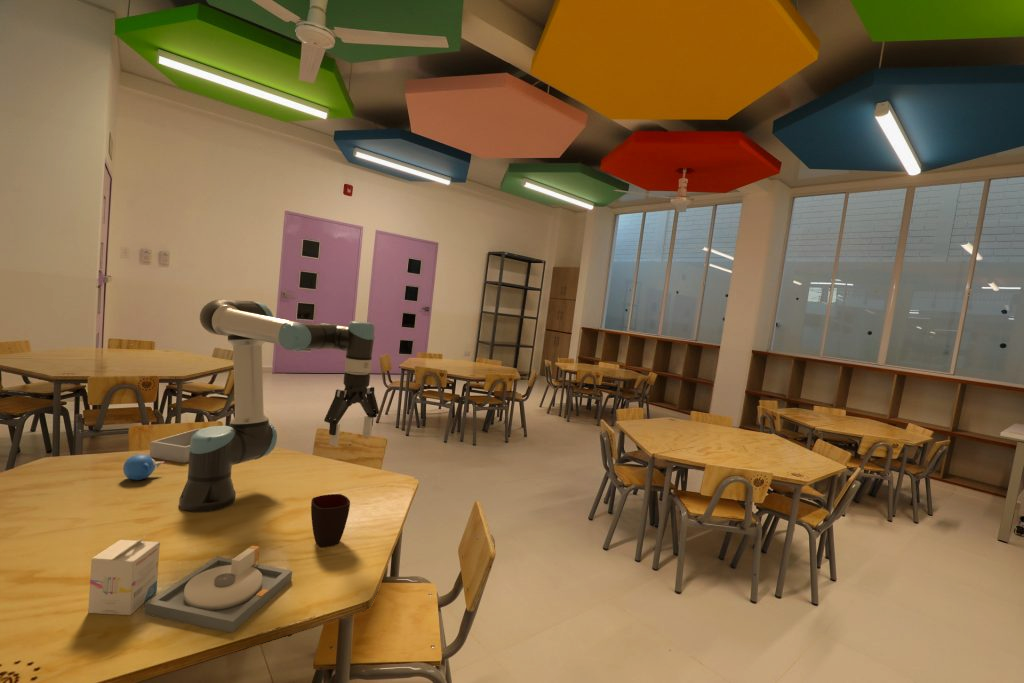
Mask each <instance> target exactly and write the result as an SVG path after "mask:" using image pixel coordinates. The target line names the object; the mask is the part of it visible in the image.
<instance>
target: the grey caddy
mask: <svg viewBox="0 0 1024 683" xmlns="http://www.w3.org/2000/svg"><path fill="white" fill-rule="evenodd" d="M201 429H202V428H196V429H191V430H188V431H185V432H181V433H177V434H173V435H169V436H166V437H163V438H159V439H155V440H152V441H150V448H149V456H150V457H151V458H152V459H153V458H154V459H159V460H165V461H171V462H177V463H189V454H190V450H189V446H190V442H191V437H192V436H193V434H194V433H195V432H197V431H198V430H201Z"/></svg>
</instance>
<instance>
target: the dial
mask: <svg viewBox="0 0 1024 683" xmlns="http://www.w3.org/2000/svg"><path fill="white" fill-rule="evenodd" d="M259 553H260V546H257V545H251V546H249V547H248V548H246V549H245V550H244V551H242V552H241V553H239V554H238V555H236V556H235V557H234V558H231V559H232V564H231V565H226V566H220V567H216V568H212V569H209V570H206V571H204V572H202V573H200V574H198V575H196V576H194V577H193V578H192V579H191V580H189V581H188V583H187V584H186V586H185V588H184V601H185V603H186V604H187V605H189V606H190V607H193V608H198V609H203V610H219V609H225V608H229V607H233V606H236V605H239V604H241V603H243V602H245V601H247V600H249V599H251V598H252V597H253V596H255V595H256V594H257V593H258V592H259V590H260V589H261V586H262V574H261V572H260V571H259V570H258V569H256V568H254V567H251V566H252V565H253V564H255V563H258V562H259V555H260V554H259Z"/></svg>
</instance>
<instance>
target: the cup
mask: <svg viewBox="0 0 1024 683" xmlns="http://www.w3.org/2000/svg"><path fill="white" fill-rule="evenodd" d="M310 504H311V506H310V515H311V516H310V517H311V525H312V527H311V528H312V533H313V538H314V541H315V544H316V545H317V546H318V548H329V547H330V548H331V547H335V546H337V545H339V543H340V542H341V539H342V537H343V534H344V531H345V528H346V525H347V522H348V517H349V513H350V507H351V506H350V505H351V501H350V499H349V498H348V497H347V496H345V494H342V493H332V494H323V495H318V496H315V497H313V498H311V503H310Z"/></svg>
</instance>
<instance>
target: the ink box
mask: <svg viewBox="0 0 1024 683" xmlns="http://www.w3.org/2000/svg"><path fill="white" fill-rule="evenodd" d="M147 536H148V534H145V535H144V536H142V537H141V538H139V539H138V540H135V539H134V540H132V539H123V538H122V539H119V540H117V541H116V542H114V543H113V544H111V545H110V546H109V547H106V548H105V549H104V550H101V552H99V553H98V554H96V555H95V556H93V557H92V558H91V564H90V581H89V594H88V596H89V598H88V609H87V610H88V612H87V613H88V614H101V615H102V614H103V615H120V616H121V615H122V616H131V615H133V613H135V611H137V610H138V609H139V608H141V607H142V605H143V604H145V603H146V602H147V601H148V600H150V599H151V597H152V596H153V595H154V594H155V593H157V587H158V576H159V563H160V562H159V560H160V546H161V542H160V541H150V540H149V541H147V540H145V541H144V538H146V537H147Z"/></svg>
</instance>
